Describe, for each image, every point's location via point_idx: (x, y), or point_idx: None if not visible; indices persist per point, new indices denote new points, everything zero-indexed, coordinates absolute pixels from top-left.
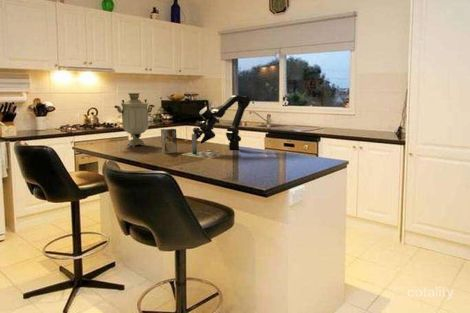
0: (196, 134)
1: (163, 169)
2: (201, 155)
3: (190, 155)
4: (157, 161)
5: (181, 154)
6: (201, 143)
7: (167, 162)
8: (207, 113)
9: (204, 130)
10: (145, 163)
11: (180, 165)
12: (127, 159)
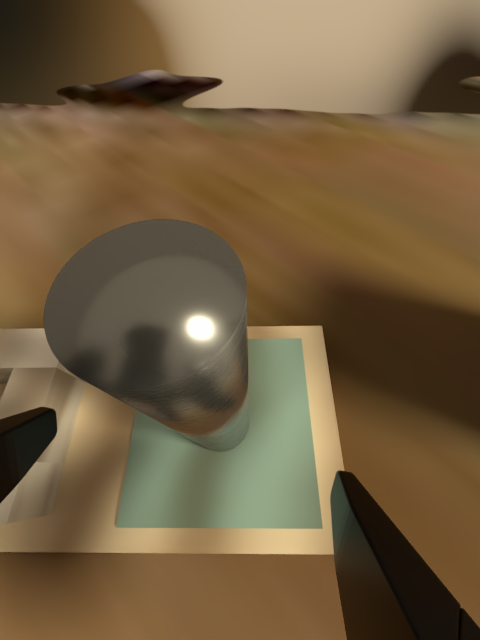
0: (53, 335)
1: (112, 95)
2: None
3: None
4: (279, 152)
5: (318, 327)
6: (44, 428)
7: (207, 162)
8: None
9: None
10: (284, 111)
11: (87, 156)
12: (459, 113)
